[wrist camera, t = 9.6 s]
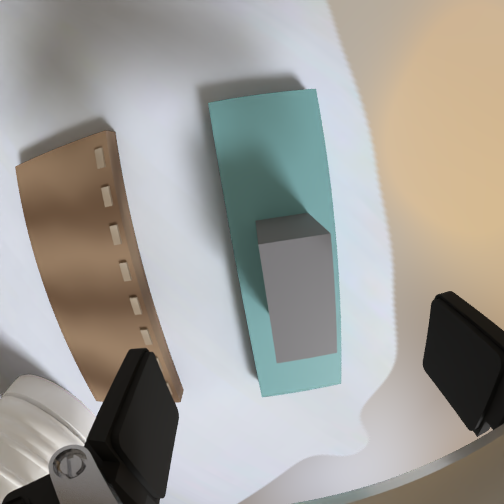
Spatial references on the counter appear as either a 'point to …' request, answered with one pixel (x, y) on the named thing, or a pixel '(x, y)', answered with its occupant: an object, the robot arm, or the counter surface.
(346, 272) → the counter surface
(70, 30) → the counter surface
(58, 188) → the board
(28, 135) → the counter surface
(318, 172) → the teal base with block
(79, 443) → the honey pot
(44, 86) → the counter surface
